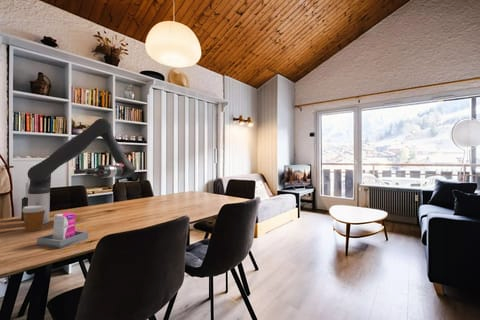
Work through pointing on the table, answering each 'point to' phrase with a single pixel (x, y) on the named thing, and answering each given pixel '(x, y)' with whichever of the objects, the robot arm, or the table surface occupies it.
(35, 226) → the disposable coffee cup
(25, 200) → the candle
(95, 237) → the table surface
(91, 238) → the table surface
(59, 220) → the supplement box
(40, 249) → the table surface
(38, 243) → the tray
